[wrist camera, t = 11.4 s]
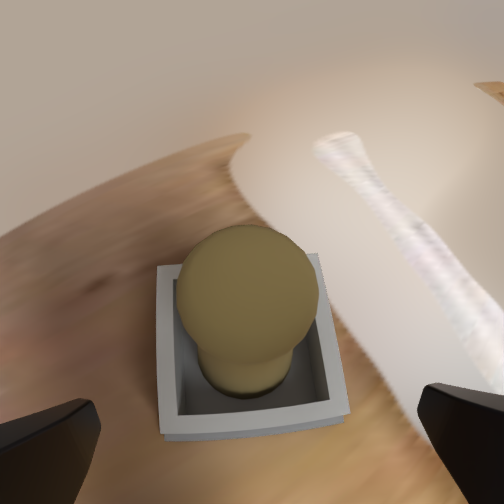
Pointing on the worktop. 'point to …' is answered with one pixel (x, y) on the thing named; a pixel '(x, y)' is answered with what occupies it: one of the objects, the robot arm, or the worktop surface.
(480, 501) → the robot arm
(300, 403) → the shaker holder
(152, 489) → the worktop surface
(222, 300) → the cork
